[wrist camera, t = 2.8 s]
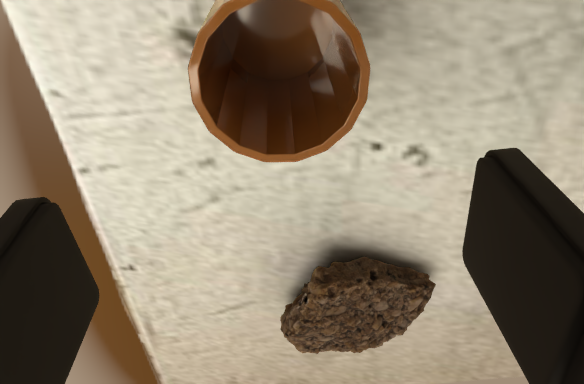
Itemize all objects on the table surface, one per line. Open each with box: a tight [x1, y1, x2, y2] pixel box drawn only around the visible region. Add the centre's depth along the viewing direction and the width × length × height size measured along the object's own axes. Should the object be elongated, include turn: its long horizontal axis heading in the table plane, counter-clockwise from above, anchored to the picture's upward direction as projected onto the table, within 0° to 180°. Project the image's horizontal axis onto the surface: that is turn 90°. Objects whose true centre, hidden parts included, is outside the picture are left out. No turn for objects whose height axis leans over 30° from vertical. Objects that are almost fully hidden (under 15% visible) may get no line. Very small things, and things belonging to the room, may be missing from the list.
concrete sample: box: [281, 256, 436, 354], centre depth 36 cm, size 12×10×5 cm
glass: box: [188, 0, 370, 162], centre depth 21 cm, size 7×7×10 cm
